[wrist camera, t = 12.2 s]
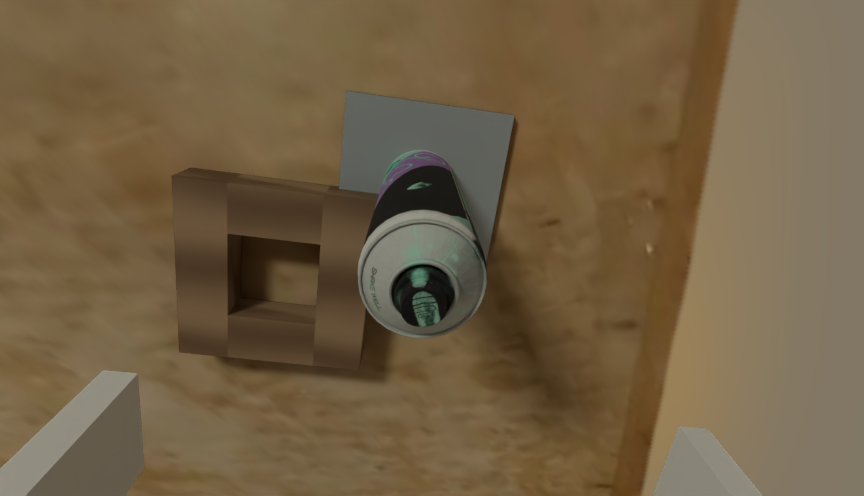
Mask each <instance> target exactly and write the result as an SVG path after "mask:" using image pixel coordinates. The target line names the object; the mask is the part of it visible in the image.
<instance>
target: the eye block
mask: <svg viewBox="0 0 864 496" xmlns="http://www.w3.org/2000/svg"><path fill="white" fill-rule="evenodd" d="M172 195H173V218H174V242H175V265H176V289H177V313H178V336H179V352H182V353H191V354H201V355H211V356H221V357H231V358H241V359H251V360H261V361H271V362H281V363H291V364H301V365H311V366H321V367H331V368H340V369H350V370H359V368H360V363H361V358H362V353H363V345H364V336H365V326H366V317H367V308H366V307H365V305H364V303H363V301H362V298H361V295H360V292H359V285H358V263H359V259H360V255H361V252H362V249H363V246H364V242H365V239H366V236H367V232H368V229H369V226H370V223H371V219H372V216H373V213H374V209H375V206H376V203H377V200H378V196H379V194H376V193H368V192H361V191H353V190H345V189H339V187H337V186H329V185H321V184H314V183H306V182H298V181H291V180H283V179H275V178H267V177H260V176H252V175H244V174H236V173H229V172H221V171H213V170H205V169H198V168H189V169H187V170H184V171H182V172H180V173H177V174H175V175H173V176H172ZM241 235H243V236H251V237H260V238H268V239H276V240H285V241H293V242H301V243H310V244H318V245H320V260H319V275H318V290H317V305H316V306H309V305H300V304H291V303H281V302H272V301H263V300H254V299H245V298H241Z"/></svg>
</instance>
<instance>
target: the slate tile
mask: <svg viewBox="0 0 864 496" xmlns="http://www.w3.org/2000/svg"><path fill="white" fill-rule="evenodd" d="M514 116H515V115H512V114H505V113H498V112H491V111H485V110H478V109H471V108H464V107H457V106H450V105H443V104H436V103H429V102H422V101H415V100H408V99H401V98H394V97H388V96H381V95H374V94H367V93H360V92H353V91H346V103H345V116H344V129H343V142H342V155H341V169H340V182H339V189H345V190H353V191H361V192H368V193H376V194H379V193H380V190H381V187H382V183H383V180H384V177H385V173H386V171H387V169H388V168H389V166H390V165H391V163H392V162H393V161H394V160H395V159H396V158H398V157H399V156H400V155H402V154H404V153H406V152H409V151H413V150H427V151H431V152H434V153H436V154H438V155H439V156H441V157H442V158H444V159H445V160H446V161H447V162H448V164H449V165H450V166H451V168H452V169H453V172H454V174H455V176H456V179H457V181H458V184H459V187H460V190H461V192H462V195H463V198H464V200H465V203H466V206H467V209H468V211H469V214H470V217H471V219H472V222H473V225H474V228H475V230H476V233H477V236H478V239H479V241H480V244H481V247H482V249H483V252H484V256H485V260H486V262H487V257H488V251H489V246H490V241H491V236H492V231H493V225H494V220H495V215H496V210H497V204H498V199H499V194H500V189H501V184H502V178H503V173H504V168H505V163H506V157H507V152H508V147H509V142H510V137H511V131H512V126H513V121H514Z"/></svg>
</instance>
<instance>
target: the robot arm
mask: <svg viewBox="0 0 864 496" xmlns="http://www.w3.org/2000/svg"><path fill="white" fill-rule="evenodd" d="M143 469H144V453H143V439H142V425H141V411H140V397H139V383H138V374H137V373H126V372H116V371H106V370H103V371H102V372H101V373H100V374H99V375H98V376H97V377H96V378H94V379H93V380H92V381H91V382H90V383H89V384H88V385H87V386H86V387H85V388H84V389H83V390H82V391H81V392H80V393H79V394H78V395H77V396H76V397H75V398H74V399H73V400H71V401H70V402H69V403H68V404H67V405H66V406H65V407H64V408H63V409H62V410H61V411H60V412H59V413H58V414H57V415H56V416H55V417H54V418H53V419H52V420H51V421H49V422H48V423H47V424H46V425H45V426H44V427H43V428H42V429H41V430H40V431H39V432H38V433H37V434H36V435H35V436H34V437H33V438H32V439H31V440H30V441H29V442H27V443H26V444H25V445H24V446H23V447H22V448H21V449H20V450H19V451H18V452H17V453H16V454H15V455H14V456H13V457H12V458H11V459H10V460H9V461H8V462H7V463H5V464H4V465H3V466H2V467H1V468H0V496H125V495H126V494H127V492H128V491H129V489H130V488H131V486H132V485H133V483H134V482H135V481H136V479H137V478H138V476H139V475H140V473H141V472H142V470H143ZM653 496H762V494H761V493H760V492H759V491H758V490H757V488H756V487H755V486H754V485H753V483H752V482H751V481H750V480H749V478H748V477H747V476H746V475H745V474H744V473H743V471H742V470H741V469H740V468H739V466H738V465H737V464H736V463H735V461H734V460H733V459H732V458H731V457H730V455H729V454H728V453H727V452H726V451H725V450H724V448H723V447H722V446H721V444H720V443H719V442H718V441H717V440H716V438H715V437H714V436H713V435H712V433H711V432H710V431H709V430H708V429H702V428H691V427H680V426H679V428H678V431H677V433H676V436H675V439H674V441H673V444H672V447H671V449H670V452H669V454H668V457H667V460H666V462H665V465H664V467H663V470H662V473H661V475H660V478H659V480H658V483H657V486H656V488H655V491H654V494H653Z"/></svg>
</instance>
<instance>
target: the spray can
mask: <svg viewBox="0 0 864 496" xmlns="http://www.w3.org/2000/svg"><path fill="white" fill-rule="evenodd" d="M358 285H359V292H360V295H361V298H362V301H363V303H364V305H365V307H366V308H367V310H368V312H369V313H370V314H371V315H372V317H373V318H374V319H375V320H376V321H377V322H378V323H380V324H381V325H382V326H384V327H385V328H387V329H388V330H390V331H392V332H395V333H397V334H399V335H403V336H407V337H412V338H433V337H437V336H441V335H445V334H447V333H450V332H452V331H454V330H456V329H458V328H459V327H461V326H462V325H463V324H465V323H466V322H467V321H468V320H469V319H470V318H471V317H472V316H473V315H474V314H475V312H476V311H477V309H478V308H479V306H480V305H481V302H482V300H483V297H484V295H485V290H486V285H487V266H486V260H485V256H484V252H483V249H482V247H481V244H480V241H479V239H478V236H477V233H476V230H475V228H474V225H473V222H472V219H471V217H470V214H469V211H468V209H467V206H466V203H465V200H464V198H463V195H462V192H461V190H460V187H459V184H458V181H457V179H456V176H455V174H454V172H453V169H452V168H451V166H450V165H449V164H448V162H447V161H446V160H445V159H444V158H442V157H441V156H439V155H438V154H436V153H434V152H431V151H427V150H413V151H409V152H406V153H404V154H402V155H400V156H399V157H398V158H396V159H395V160H394V161H393V162H392V163H391V165H390V166H389V168H388V169H387V171H386V173H385V177H384V180H383V183H382V187H381V190H380V193H379V196H378V200H377V203H376V206H375V209H374V213H373V216H372V219H371V223H370V226H369V229H368V232H367V236H366V239H365V242H364V246H363V249H362V252H361V255H360V259H359V263H358Z"/></svg>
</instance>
